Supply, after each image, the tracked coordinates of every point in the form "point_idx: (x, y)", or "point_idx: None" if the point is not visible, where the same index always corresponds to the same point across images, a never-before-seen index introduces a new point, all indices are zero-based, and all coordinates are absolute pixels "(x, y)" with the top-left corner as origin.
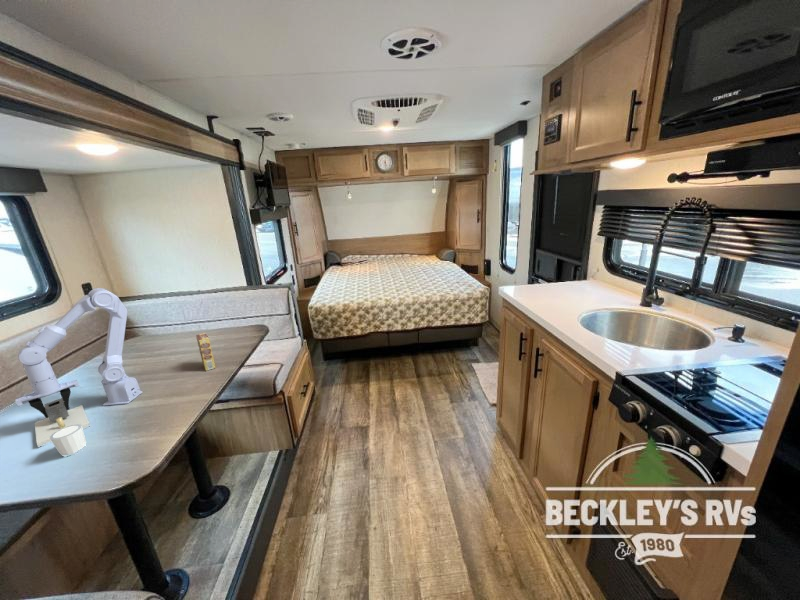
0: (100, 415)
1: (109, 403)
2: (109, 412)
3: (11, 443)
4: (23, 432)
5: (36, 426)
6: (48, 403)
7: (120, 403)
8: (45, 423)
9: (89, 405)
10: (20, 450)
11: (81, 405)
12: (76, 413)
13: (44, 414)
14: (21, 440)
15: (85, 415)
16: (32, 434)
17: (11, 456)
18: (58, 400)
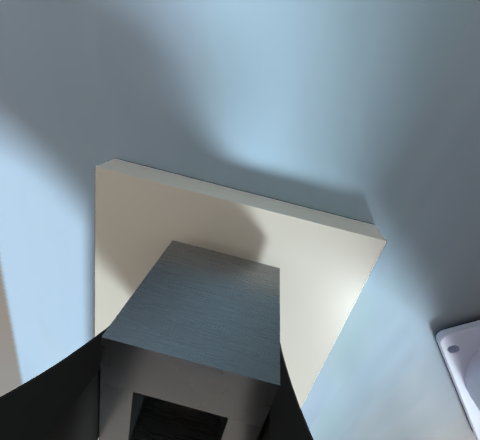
0: (345, 407)
1: (460, 367)
2: (380, 422)
3: (14, 247)
4: (53, 167)
5: (101, 253)
6: (138, 365)
7: (470, 420)
8: (144, 270)
9: (423, 217)
10: (54, 353)
11: (381, 242)
12: (292, 333)
13: None
14: (51, 266)
15: (300, 404)
16: (93, 257)
17: (31, 363)
18: (229, 401)
